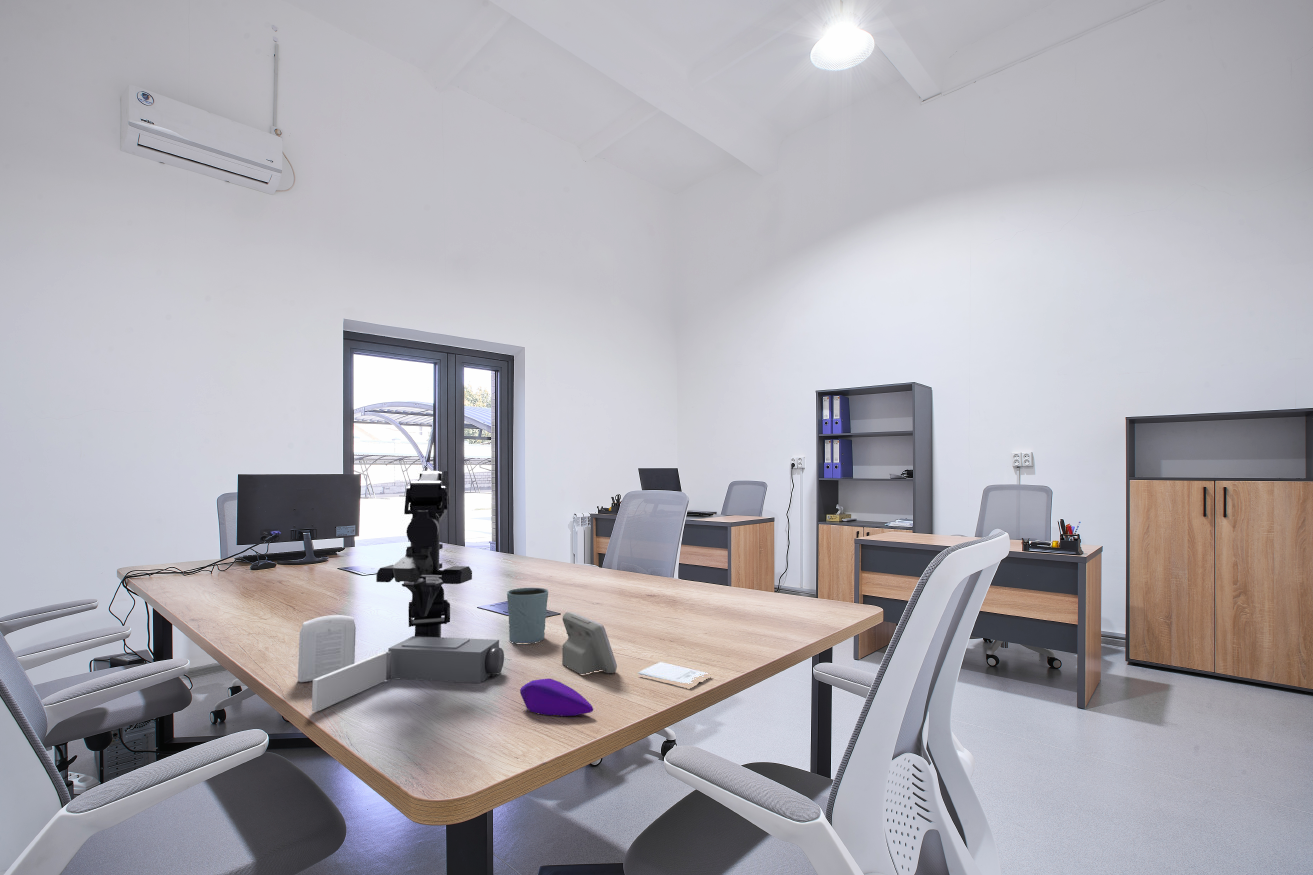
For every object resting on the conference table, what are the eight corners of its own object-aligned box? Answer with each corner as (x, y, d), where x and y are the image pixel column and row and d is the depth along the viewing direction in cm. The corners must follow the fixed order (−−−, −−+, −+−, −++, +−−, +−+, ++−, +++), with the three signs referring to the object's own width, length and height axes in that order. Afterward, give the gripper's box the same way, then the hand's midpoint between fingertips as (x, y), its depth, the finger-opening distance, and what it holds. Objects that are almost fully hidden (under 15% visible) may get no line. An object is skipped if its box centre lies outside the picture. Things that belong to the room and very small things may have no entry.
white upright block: (353, 669, 128) (354, 610, 129) (355, 674, 124) (357, 614, 125) (297, 678, 122) (298, 617, 123) (298, 684, 119) (299, 621, 119)
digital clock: (619, 675, 123) (619, 623, 124) (577, 682, 120) (577, 628, 120) (594, 653, 138) (595, 607, 139) (556, 658, 134) (556, 610, 135)
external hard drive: (661, 668, 129) (711, 680, 122) (638, 679, 123) (689, 692, 115) (661, 661, 129) (710, 671, 122) (638, 671, 123) (689, 683, 115)
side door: (391, 678, 121) (392, 651, 121) (318, 712, 104) (319, 680, 105) (383, 677, 122) (383, 650, 122) (309, 710, 105) (310, 679, 105)
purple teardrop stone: (588, 700, 100) (513, 679, 106) (585, 729, 100) (510, 707, 106) (601, 690, 105) (528, 671, 110) (598, 718, 105) (526, 697, 110)
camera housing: (412, 663, 131) (412, 634, 131) (507, 668, 128) (508, 638, 128) (387, 677, 122) (388, 646, 123) (489, 683, 119) (490, 651, 119)
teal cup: (499, 644, 146) (500, 594, 147) (516, 632, 156) (516, 586, 157) (539, 645, 144) (539, 595, 145) (553, 634, 154) (553, 587, 155)
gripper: (360, 544, 119) (358, 624, 118) (447, 545, 116) (446, 627, 116) (392, 538, 130) (391, 611, 129) (473, 539, 127) (472, 613, 127)
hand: (423, 615), depth 125 cm, fingers closed
